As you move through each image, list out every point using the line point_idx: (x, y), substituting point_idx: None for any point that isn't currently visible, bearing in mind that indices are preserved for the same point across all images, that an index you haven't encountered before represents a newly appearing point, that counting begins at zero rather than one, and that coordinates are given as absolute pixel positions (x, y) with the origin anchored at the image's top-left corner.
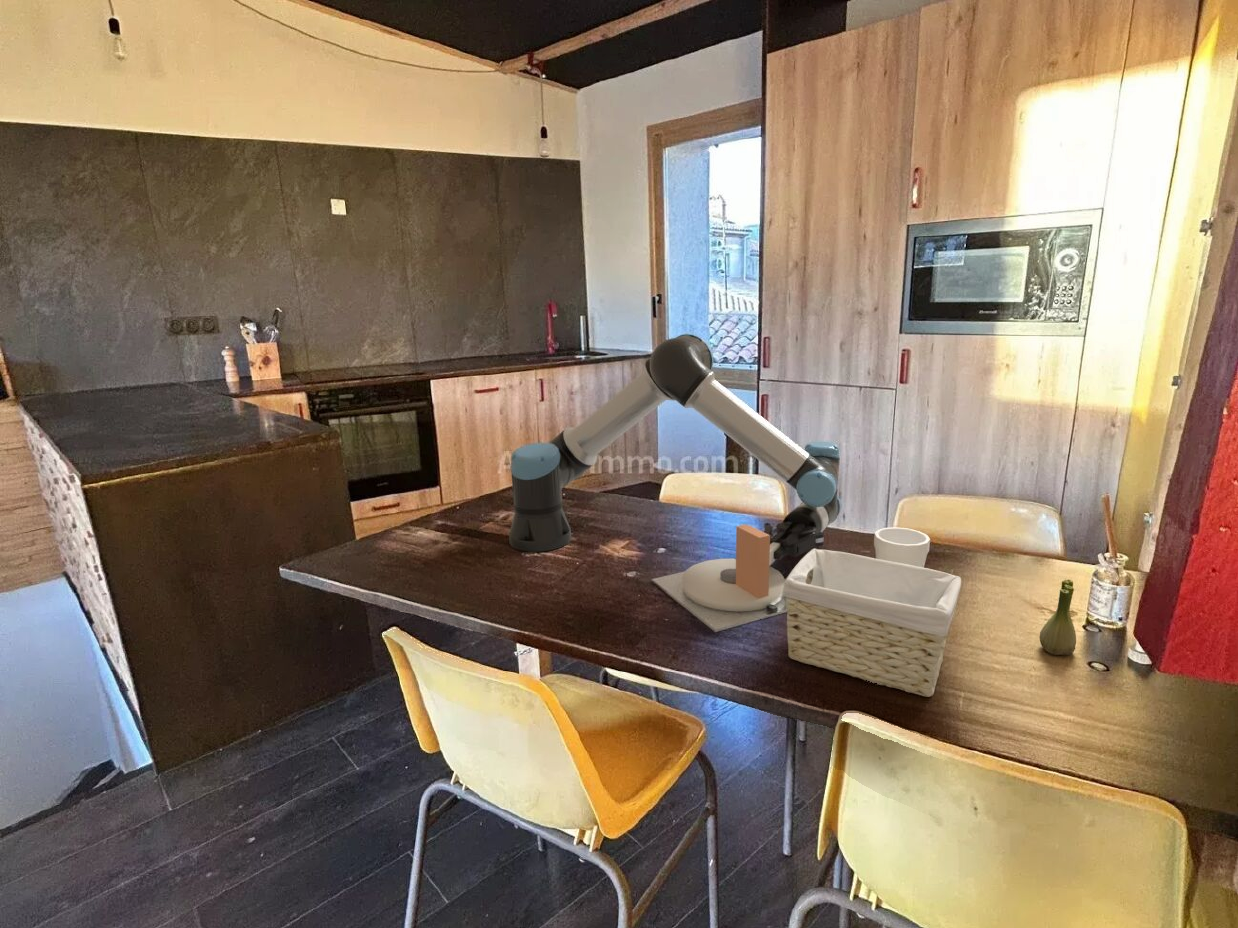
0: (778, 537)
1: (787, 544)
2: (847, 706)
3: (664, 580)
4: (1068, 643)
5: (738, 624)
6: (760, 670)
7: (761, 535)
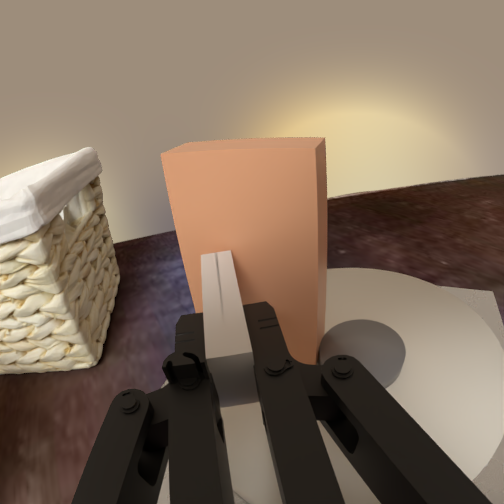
0: (278, 447)
1: (171, 400)
2: None
3: (479, 303)
4: None
5: None
6: (150, 253)
7: (189, 145)
